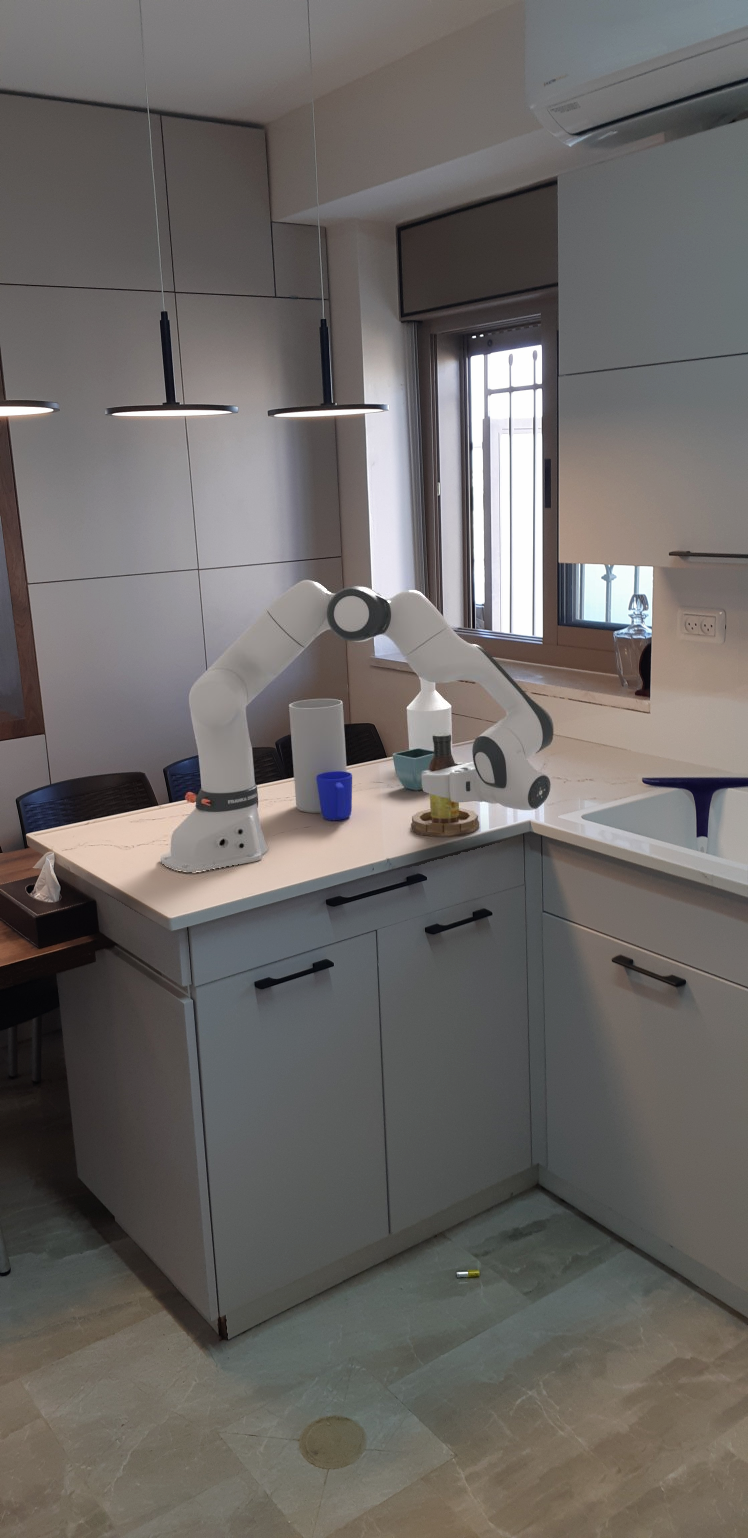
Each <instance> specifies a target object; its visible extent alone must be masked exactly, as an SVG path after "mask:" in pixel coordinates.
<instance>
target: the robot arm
mask: <svg viewBox="0 0 748 1538" xmlns="http://www.w3.org/2000/svg"><path fill="white" fill-rule="evenodd" d="M328 630H332V632H333V633H334V634H335V635H336V636H338V638H339V639H342V640H344V641H346V642H353V643H354V642H355V643H364V642H367V641H370V640H371V639H373V638H376V637H377V636H379V635H381V636H384V637H387V638H388V639H389V640H391V641H392V642H393V644H394V645H395V646H396V647H397V649H398V651H399V652H400V654H401V655H402V656H403V658H404V659H405V661H406V662H407V664H408V666H409V667H410V668H411V670H412V671H413V672H414V673H415V674H416V675H417V676H418V678H419V677H420V678H422V679H424V680H426V681H429V682H434V683H435V684H445V683H446V684H447V683H451V682H456V681H465V680H467V681H472V682H474V683H475V682H476V683H477V684H479V685H480V686H481V687H483V689H485V691H487V692H488V693H489V695H490V696H491V697H492V698H493V699H494V701H496V703H498V704H499V706H501V708H502V709H503V710H504V711H505V713H506V715H505V716H504V717H503V718H502V719H500V720H499V721H497V722H496V723H495V724H494V725H492V726H490V727H489V728H487V729H486V730H485V731H483V732H482V733H481V734H479V736H477V737H476V738H475V739H474V740H473V744H472V749H471V750H472V752H471V753H472V761H471V762H461V761H460V762H455V764H456V766H453V767H449V768H445V769H441V770H437V771H433V772H432V771H428V770H426V771H422V772H421V774H422V788H423V789H422V790H423V792H425V793H427V794H429V795H430V794H432V795H436V796H439V797H444V798H451V801H452V802H456V803H458V802H459V803H467V802H468V803H469V802H479V803H483V802H484V803H489V804H491V805H492V804H494V805H495V804H499V805H501V806H503V807H505V808H509V809H514V810H520V811H533V810H536V809H538V808H540V807H541V806H542V805H543V804H544V803H546V801H547V798H548V797H549V795H550V792H551V784H552V783H551V779H550V777H549V776H548V775H547V774H545V773H543V772H542V771H539V770H537V769H536V768H535V767H534V766H533V765H532V764H531V763H530V761H528V760H529V759H530V758H531V757H532V756H534V755H536V754H537V753H539V752H540V751H543V750H544V749H546V748H548V747H549V746H550V745H551V743H553V742H552V741H553V737H554V731H555V730H554V729H555V728H554V722H553V719H552V717H551V715H550V714H549V713H548V711H547V710H545V708H543V707H542V706H541V705H539V703H537V702H536V701H535V700H534V699H533V698H531V697H530V696H529V695H528V693H526V692H525V691H524V689H522V687H521V686H519V684H518V683H517V682H516V681H515V680H514V679H513V678H512V676H511V675H510V674H509V673H508V672H507V671H506V670H505V669H504V668H503V667H502V666H501V664H499V663H498V662H497V660H496V659H495V658H494V657H493V656H492V655H491V654H490V653H488V651H487V650H485V649H484V648H483V647H482V646H480V645H478V644H476V643H475V644H473V643H469V642H468V641H466V640H464V639H463V638H462V637H460V636H459V635H458V633H456V632H455V630H454V629H453V628H452V627H451V626H450V624H449V622H448V621H447V620H446V619H445V616H443V614H442V613H441V612H440V611H439V610H438V608H437V607H436V606H435V605H434V604H433V603H432V602H431V601H430V600H429V599H428V598H427V597H426V596H425V595H424V594H423V593H422V592H421V591H418V590H415V589H410V590H404V591H401V592H399V593H396V595H394V596H392V597H390V598H385V597H383V596H382V595H381V594H380V593H379V592H377V591H376V590H374V589H372V588H370V587H368V586H365V585H364V586H363V585H353V586H347V587H346V586H345V587H344V588H342V589H340V590H338V591H337V592H336V593H333V592H331V591H329V590H328V589H327V588H325V587H324V586H323V585H322V584H321V583H319V582H316V581H314V580H310V579H303V580H300V581H299V582H297V583H296V584H294V585H293V586H291V587H290V588H289V589H287V590H286V591H284V593H282V594H281V595H279V597H278V598H276V599H275V600H274V601H273V602H272V603H271V604H270V605H269V606H268V607H266V608H265V610H264V611H263V612H262V613H261V614H260V615H259V616H258V617H257V618H256V619H255V620H254V621H253V622H252V623H251V624H250V625H249V627H247V629H245V631H244V632H242V634H241V635H240V636H239V637H238V638H237V639H236V640H235V641H234V642H233V643H232V644H230V646H229V647H228V648H227V649H226V650H225V651H224V652H223V653H222V654H221V655H220V656H219V657H218V659H217V660H215V661H214V662H213V663H212V665H211V666H209V667H208V669H207V670H206V671H204V672H203V674H202V675H201V676H199V678H198V679H197V680H195V682H194V683H193V685H192V686H191V688H190V690H189V693H188V694H189V695H188V704H189V706H188V707H189V710H190V717H191V723H192V728H193V733H194V738H195V743H196V746H197V747H196V748H197V752H198V753H197V754H198V763H199V764H198V765H199V774H200V784H201V788H200V789H199V792H198V793H197V794H196V793H193V792H191V791H189V792H186V795H184V796H185V797H184V799H185V801H187V802H188V803H192V804H194V803H195V808H194V809H193V810H192V811H191V812H190V813H189V814H188V816H186V818H185V819H183V821H182V822H181V823H180V824H179V825H177V827H176V828H175V829H174V830H173V831H172V834H171V837H170V838H171V839H170V852H168V853H164V854H162V855H161V856H160V863H161V862H162V864H164V865H166V866H168V867H170V868H173V869H177V870H181V871H186V872H196V871H203V870H209V869H213V868H219V867H224V868H226V867H225V866H229V867H233V866H232V865H234V866H237V865H238V864H239V865H243V864H247V863H253V862H258V861H260V860H262V858H263V855H264V854H265V853H266V852H267V851H268V849H269V848H268V845H267V842H266V840H265V837H264V834H263V831H262V826H261V821H260V816H259V811H258V807H259V792H258V785H257V784H256V782H255V769H254V768H255V767H254V757H253V756H254V755H253V747H252V743H251V740H250V733H249V725H248V720H247V706H248V705H249V704H251V702H252V701H253V700H254V699H255V698H256V697H257V696H258V695H259V694H260V693H261V692H262V691H263V690H264V689H266V688H267V687H268V685H270V684H271V682H273V681H274V680H275V679H276V678H277V677H279V675H280V674H281V673H282V672H284V671H285V669H287V667H289V665H291V663H292V662H294V660H295V659H296V658H297V657H298V656H299V655H300V654H302V652H303V651H305V649H306V648H307V647H308V646H310V644H311V643H312V642H313V641H314V640H315V639H316V638H317V637H319V635H320V634H323V633H324V632H326V631H328ZM162 864H161V865H162ZM164 865H163V866H164ZM219 869H220V868H219ZM209 871H210V870H209Z"/></svg>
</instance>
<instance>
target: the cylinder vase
mask: <svg viewBox="0 0 748 1538" xmlns="http://www.w3.org/2000/svg"><path fill="white" fill-rule="evenodd" d="M288 707H289V708H288V709H289V710H288V711H289V712H288V713H289V722H290V723H289V724H290V737H291V739H290V740H291V751H292V765H293V780H294V794H295V806H296V808H297V810H299V811H301V812H303V813H309V814H322V813H321V807H320V800H319V793H318V786H317V779H316V777H317V775H319V774H322V773H326V772H334V771H343V772H348V771H347V755H346V754H347V753H346V737H345V721H344V708H343V707H344V705H343V701H342V700H339V699H335V698H314V699H312V698H311V699H305V700H299V701H294V702H292V703H290V704H288Z"/></svg>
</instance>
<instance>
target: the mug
mask: <svg viewBox="0 0 748 1538" xmlns="http://www.w3.org/2000/svg"><path fill="white" fill-rule="evenodd" d="M316 779H317V786H318V793H319V800H320V807H321V813H320V814H321V816H322V817H323V819H324V820H329V821H341V820H346V819H348V818H349V817H350V816H351V815H352V810H353V809H352V807H353V806H352V805H353V804H352V803H353V801H352V800H353V774H352V773H351V772H350V771H349V772H348V771H347V772H343V771H334V772H326V773H322V774H319V775H317V777H316Z"/></svg>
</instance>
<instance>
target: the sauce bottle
mask: <svg viewBox="0 0 748 1538" xmlns="http://www.w3.org/2000/svg"><path fill="white" fill-rule="evenodd" d="M433 743H434V757H433V759H432V760H431V762H430V765H429V770H430V771H432V772H433V771H437V770H441V769H445V768H449V767H453V766H456V764H455V763H456V762H455V760H454V757H453V751H452V752H451V734H449V733H438V734H433ZM451 753H452V754H451ZM429 802H430V803H429V804H430V806H429V807H430V810H431V819H432V820H431V821H432V823H443V824H444V823H455V822H459V808H460V802H458V803H456V802H452V801H451V798H444V797H439V796H436V795H432V794H429Z"/></svg>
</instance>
